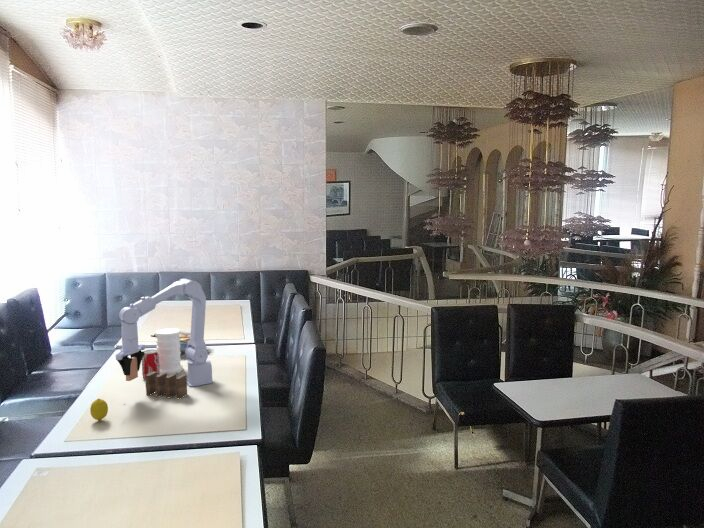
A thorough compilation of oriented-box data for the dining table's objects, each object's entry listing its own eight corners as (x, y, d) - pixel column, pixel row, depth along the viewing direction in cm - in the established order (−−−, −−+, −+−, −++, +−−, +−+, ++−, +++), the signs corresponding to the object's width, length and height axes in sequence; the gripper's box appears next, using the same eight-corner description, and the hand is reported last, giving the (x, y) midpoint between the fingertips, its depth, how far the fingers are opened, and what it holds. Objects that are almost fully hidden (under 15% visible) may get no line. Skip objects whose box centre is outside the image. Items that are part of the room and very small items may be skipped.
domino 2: (156, 396, 212) (155, 376, 212) (164, 391, 217) (163, 372, 216) (159, 396, 212) (158, 376, 211) (167, 392, 217) (166, 372, 216)
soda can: (154, 381, 229) (153, 354, 227) (139, 380, 230) (137, 353, 229) (163, 376, 236) (162, 349, 234) (148, 375, 237) (147, 348, 236)
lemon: (91, 425, 185) (89, 402, 184) (90, 419, 190) (89, 397, 189) (109, 422, 188) (107, 399, 187) (108, 416, 193) (106, 394, 192)
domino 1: (146, 395, 214) (145, 375, 213) (154, 390, 218) (153, 371, 217) (149, 395, 213) (148, 375, 212) (157, 391, 218) (156, 371, 217)
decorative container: (161, 376, 236) (160, 335, 234) (151, 369, 245) (149, 330, 243) (187, 370, 244) (185, 331, 242) (176, 364, 252) (175, 326, 250)
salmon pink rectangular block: (125, 380, 208) (124, 360, 207) (134, 376, 213) (133, 356, 212) (129, 381, 208) (128, 360, 207) (137, 377, 212) (136, 357, 211)
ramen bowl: (215, 349, 278) (214, 333, 277) (179, 360, 259) (178, 344, 258) (182, 342, 291) (181, 327, 290) (145, 352, 272) (144, 336, 271)
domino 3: (166, 397, 211) (165, 377, 210) (173, 392, 216) (173, 373, 215) (169, 397, 211) (169, 377, 210) (177, 393, 216) (176, 373, 215)
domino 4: (176, 398, 210) (175, 378, 209) (183, 394, 215) (182, 374, 214) (179, 398, 210) (179, 378, 209) (187, 394, 214) (186, 374, 213)
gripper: (133, 333, 216) (134, 366, 218) (108, 342, 202) (110, 377, 204) (148, 334, 214) (150, 367, 216) (124, 343, 201) (126, 379, 202)
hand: (131, 372), depth 210 cm, fingers closed on salmon pink rectangular block, 5 cm apart
